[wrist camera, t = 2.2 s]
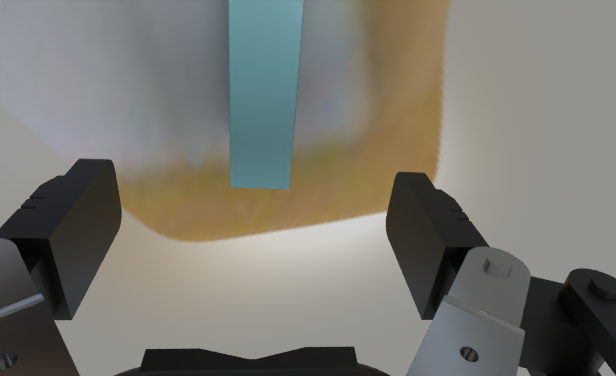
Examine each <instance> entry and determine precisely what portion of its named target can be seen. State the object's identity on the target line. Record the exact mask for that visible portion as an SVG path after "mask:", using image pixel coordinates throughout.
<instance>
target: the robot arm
mask: <svg viewBox="0 0 616 376" xmlns="http://www.w3.org/2000/svg"><path fill="white" fill-rule="evenodd" d="M121 215H122V210H121V203H120V197H119V191H118V185H117V179H116V173H115V168H114V164H113V162H112V161H111V160H107V159H79V160H78V161H77V162H76V163H75V164H74V165H73V166H72V167H71V169H70V170H69V171H68V172H67V173H66V174H65V175H64V176H57V177H55V178H53V179H51V180H49V181H47V182H46V183H44V184H42V185H40V186H39V187H38V188H37V190H36V191H35V192H34V193H33V194H32V195H31V196H30V199H27V200H26V201H25V202H24V203H23V204H22V205H21V209H18V210H17V211H16V212H15V213H14V214H13V215H12V216H11V217H10V218H9V219H8V220H7V221H6V222H5V223H4V224H3V226H2V227H1V228H0V376H80V375H79V373H78V371H77V369H76V366H75V364H74V362H73V360H72V358H71V356H70V354H69V351H68V350H67V347H66V345H65V343H64V341H63V339H62V336H61V334H60V332H59V330H58V328H57V326H56V324H55V322H54V320H72V319H73V317H74V315H75V313H76V311H77V309H78V307H79V305H80V303H81V301H82V299H83V298H84V296H85V294H86V292H87V290H88V288H89V286H90V284H91V282H92V280H93V278H94V277H95V275H96V273H97V271H98V269H99V267H100V265H101V263H102V261H103V259H104V257H105V255H106V254H107V252H108V250H109V248H110V246H111V244H112V242H113V240H114V238H115V236H116V234H117V232H118V230H119V228H120V224H121V217H122V216H121ZM386 232H387V236H388V239H389V241H390V244H391V246H392V249H393V251H394V253H395V256H396V258H397V261H398V263H399V266H400V268H401V270H402V273H403V275H404V278H405V280H406V283H407V285H408V287H409V290H410V292H411V295H412V297H413V300H414V302H415V304H416V307H417V309H418V312H419V314H420V316H421V319H422V320H433V321H432V323H431V325H430V327H429V329H428V331H427V333H426V335H425V337H424V339H423V341H422V343H421V345H420V347H419V350H418V352H417V354H416V356H415V358H414V360H413V362H412V364H411V366H410V368H409V370H408V372H407V374H406V376H516V375H517V371H518V366H520V367H523V368H527V370H528V371H529V373H530V375H531V376H601V375H600V373H599V372H598V370H599V369H600V367H601V366H602V364H603V363H604V361H606V363H607V364H608V365H609V367H610V368H611V369H612V371H613V372H614V373H615V374H616V278H614V277H612V276H610V275H608V274H605V273H602V272H599V271H596V270H591V269H576V270H573V271H571V272H570V273H569V275H568V277H567V279H566V281H565V283H564V284H563V283H558V282H554V281H550V280H545V279H540V278H536V277H532V276H531V274H530V271H529V269H528V268H527V266H526V265H525V264H524V263H523V262H522V261H521V260H519V259H518V258H517V257H515V256H514V255H512V254H510V253H508V252H505V251H503V250H500V249H496V248H492V247H489V245H488V244H487V243H486V241H485V240H484V238H483V237H482V236H481V234H480V233H479V232H478V230H477V229H476V228H475V226H474V225H473V224H472V222H471V221H469V218H468V217H467V215H466V214H465V213H464V212H462V209H461V207H460V206H459V204H458V203H457V202H456V200H455V199H454V198H452V197H451V196H449V195H448V194H447V193H445V192H443V191H442V190H439V189H436V188H435V187H434V185H433V184H432V183H431V181H430V180H429V178H428V177H427V175H426V174H425V173H419V172H398V173H397V175H396V177H395V180H394V185H393V189H392V194H391V198H390V202H389V207H388V211H387V216H386ZM115 376H390V375H388V374H387V373H384V372H382V371H380V370H378V369H376V368H372V367H370V366H367V365H363V364H360V363H357V358H356V354H355V349H354V347H304V348H300V349H296V350H292V351H288V352H284V353H280V354H275V355H272V356H268V357H263V358H259V359H245V358H241V357H236V356H231V355H227V354H222V353H217V352H213V351H208V350H203V349H146V351H145V354H144V357H143V361H142V364H141V367H138V368H134V369H131V370H128V371H125V372H122V373H119V374H117V375H115Z"/></svg>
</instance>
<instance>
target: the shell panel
mask: <svg viewBox="0 0 616 376" xmlns="http://www.w3.org/2000/svg"><path fill="white" fill-rule="evenodd" d="M303 2H304V0H229V77H230V182H231V187H233V188H264V189H289V186H290V173H291V160H292V147H293V133H294V120H295V107H296V94H297V81H298V68H299V55H300V42H301V28H302V15H303Z"/></svg>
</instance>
